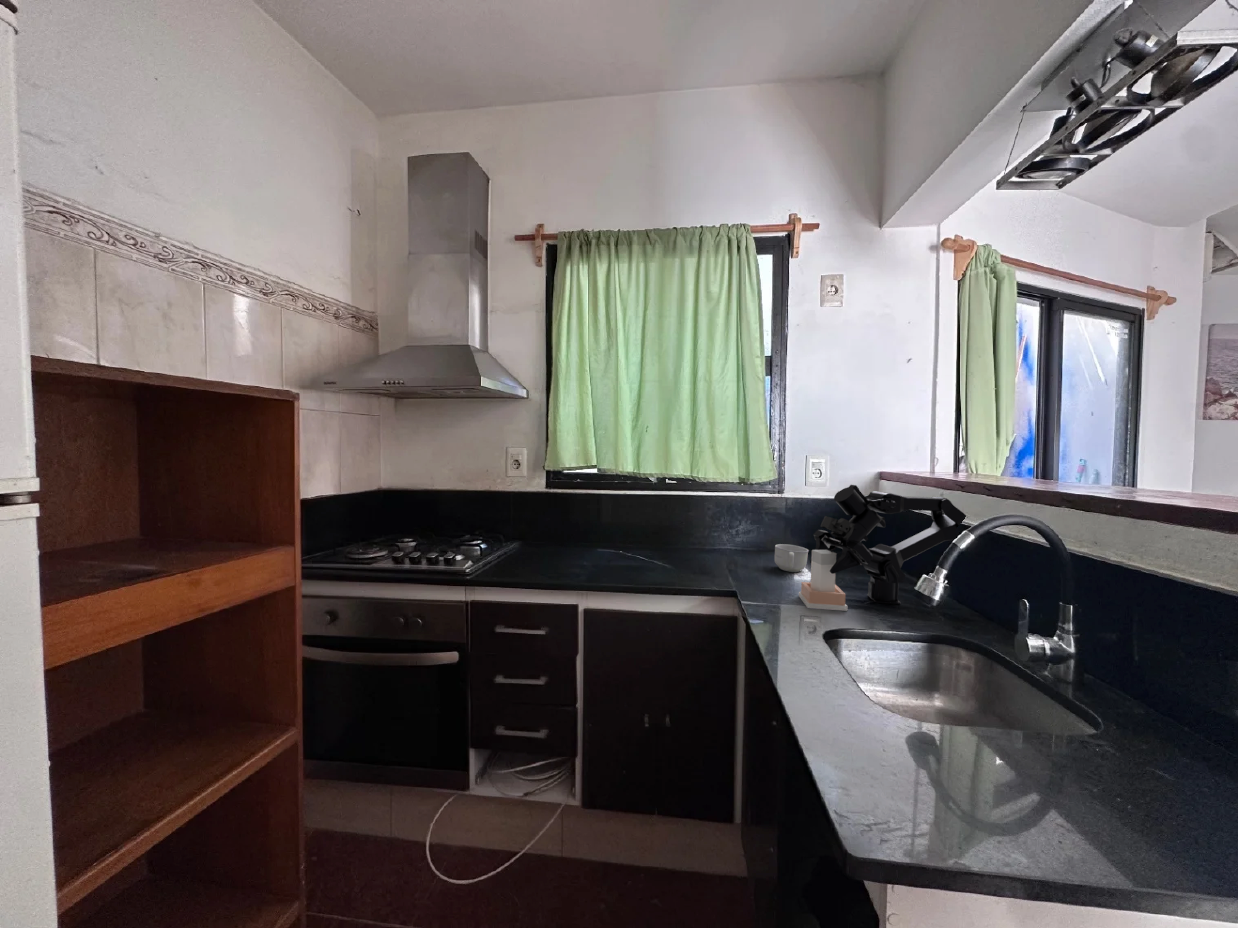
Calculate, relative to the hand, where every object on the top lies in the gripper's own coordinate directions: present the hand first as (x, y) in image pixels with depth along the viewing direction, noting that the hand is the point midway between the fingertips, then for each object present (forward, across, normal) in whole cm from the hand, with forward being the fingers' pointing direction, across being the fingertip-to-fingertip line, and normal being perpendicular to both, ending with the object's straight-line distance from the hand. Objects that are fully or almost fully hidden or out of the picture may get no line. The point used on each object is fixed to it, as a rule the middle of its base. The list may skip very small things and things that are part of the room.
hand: (820, 567), depth 127 cm
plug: (+6, 0, +7) cm, 9 cm away
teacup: (+1, -31, +13) cm, 34 cm away
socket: (+6, 0, +8) cm, 10 cm away
